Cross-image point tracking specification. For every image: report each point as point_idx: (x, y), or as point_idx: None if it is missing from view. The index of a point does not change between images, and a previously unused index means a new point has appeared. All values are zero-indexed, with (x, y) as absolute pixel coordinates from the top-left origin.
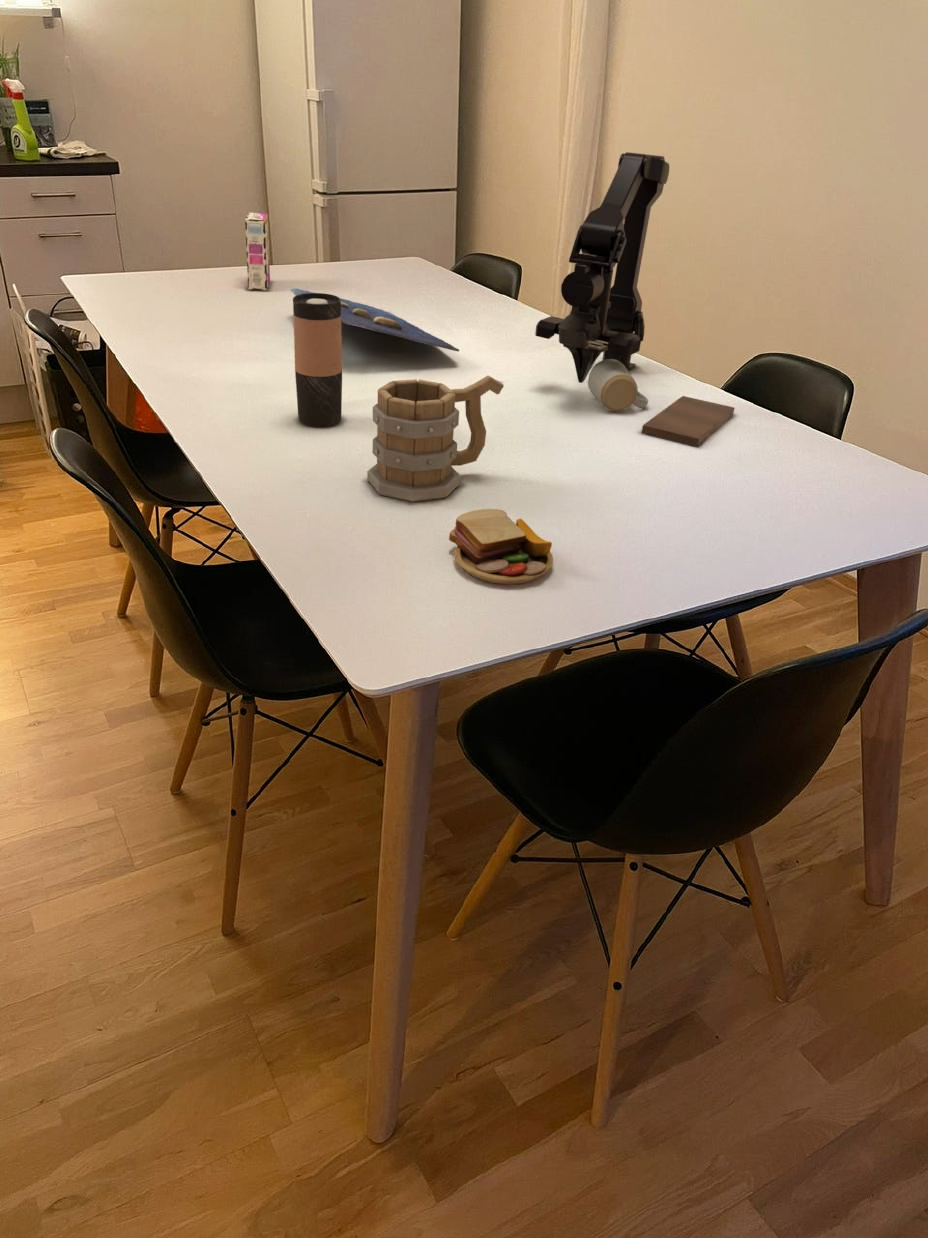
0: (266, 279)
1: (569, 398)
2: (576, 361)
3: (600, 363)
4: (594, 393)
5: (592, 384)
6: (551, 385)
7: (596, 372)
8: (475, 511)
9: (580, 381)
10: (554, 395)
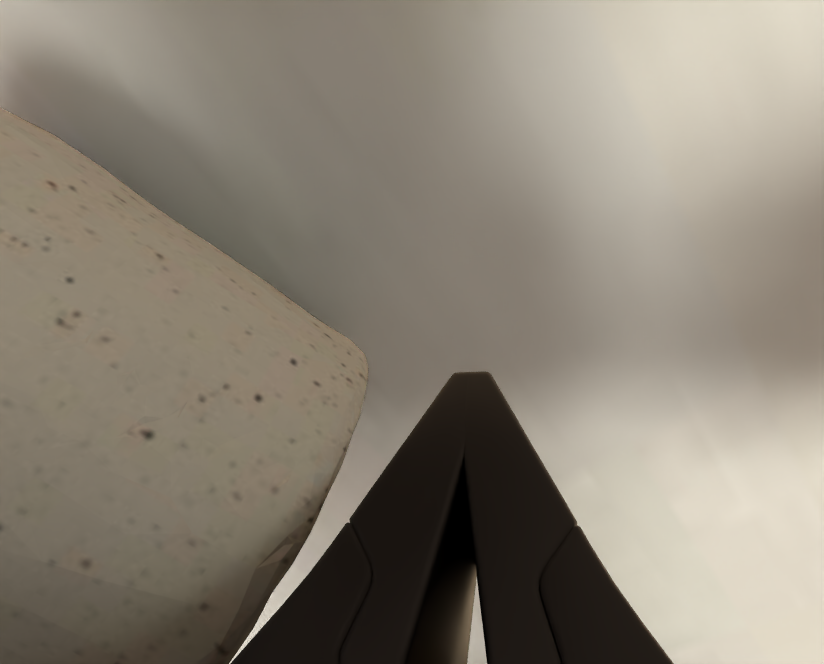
0: None
1: (520, 204)
2: (551, 580)
3: (142, 647)
4: (169, 226)
5: (191, 296)
6: (819, 379)
7: (110, 449)
8: None
9: (460, 375)
10: (695, 167)
